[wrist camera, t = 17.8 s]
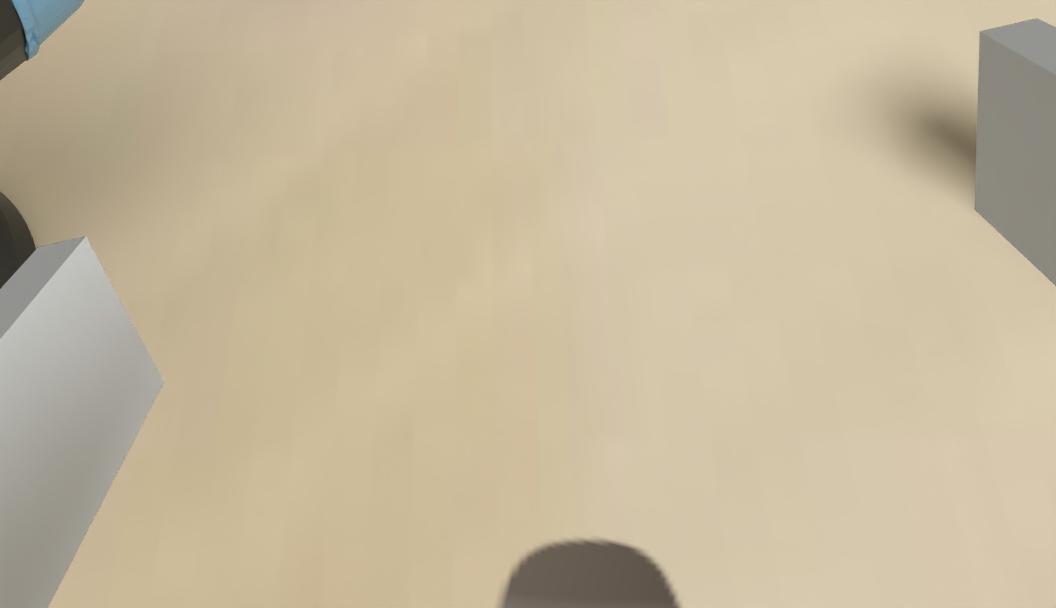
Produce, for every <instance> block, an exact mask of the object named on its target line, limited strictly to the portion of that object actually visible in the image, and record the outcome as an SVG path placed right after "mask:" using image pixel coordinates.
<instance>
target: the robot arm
mask: <svg viewBox="0 0 1056 608" xmlns="http://www.w3.org/2000/svg"><path fill="white" fill-rule="evenodd" d="M83 1H84V0H0V80H1V79H2V78H4V77H5V76H6V75H8V74H9V73H10V72H11V71H13V70H14V69H15V68H17V67H18V66H19V65H20V64H22V63H23V62H24V61H25V60H26V61H28V60H29V59H31V58H32V57H33V56H35V55H36V54H37V52H38V50H39V45H40V44H41V43H42V42H43V41H45V40H46V39H47V38H48V37H49V36H50V35H51V34H52V33H53V32H54V31H55V30H56V29H57V28H58V27H59V26H61V25H62V24H63V23H64V22H65V21H66V20H67V19H68V18H69V17H70V16H71V15H72V14H73V13H74V12H75V11H77V10H78V9H79V7H80V6H81V5H82V3H83ZM975 210H976V211H977V212H978V213H979V214H980V215H981V216H982V217H983V218H984V219H985V220H987V221H988V222H989V223H990V224H991V225H992V226H993V227H994V228H995V229H996V230H997V231H998V232H999V233H1000V234H1001V235H1002V236H1003V237H1005V238H1006V239H1007V240H1008V241H1009V242H1010V243H1011V244H1012V245H1013V246H1014V247H1015V248H1016V249H1017V250H1018V251H1019V252H1020V253H1022V254H1023V255H1024V256H1025V257H1026V258H1027V259H1028V260H1029V261H1030V262H1031V263H1032V264H1033V265H1034V266H1035V267H1036V268H1037V269H1038V270H1040V271H1041V272H1042V273H1043V274H1044V275H1045V276H1046V277H1047V278H1048V279H1049V280H1050V281H1051V282H1052V283H1053V284H1054V285H1055V286H1056V27H1054V26H1052V25H1049V24H1047V23H1045V22H1043V21H1041V20H1039V19H1037V18H1036V19H1032V20H1028V21H1023V22H1019V23H1014V24H1010V25H1006V26H1001V27H997V28H993V29H988V30H984V31H980V43H979V76H978V110H977V143H976V177H975ZM163 383H164V381H163V379H162V377H161V375H160V373H159V371H158V370H157V368H156V366H155V364H154V362H153V360H152V358H151V357H150V355H149V353H148V351H147V349H146V347H145V345H144V344H143V342H142V340H141V338H140V336H139V334H138V332H137V331H136V329H135V327H134V325H133V323H132V321H131V319H130V317H129V316H128V314H127V312H126V310H125V308H124V306H123V304H122V303H121V301H120V299H119V297H118V295H117V293H116V291H115V290H114V288H113V286H112V284H111V282H110V280H109V278H108V276H107V275H106V273H105V271H104V269H103V267H102V265H101V263H100V262H99V260H98V258H97V256H96V254H95V252H94V250H93V249H92V247H91V245H90V243H89V241H88V239H87V237H86V236H85V237H81V238H77V239H72V240H68V241H64V242H59V243H55V244H50V245H46V246H42V247H38V248H37V249H36V248H35V245H34V241H33V238H32V236H31V233H30V231H29V229H28V227H27V225H26V222H25V221H24V219H23V217H22V216H21V214H20V213H19V211H18V210H17V209H16V207H15V206H14V205H13V204H12V203H11V202H10V200H9V199H8V198H7V197H5V196H4V195H3V194H2V193H1V192H0V608H48V606H49V604H50V602H51V600H52V598H53V596H54V595H55V593H56V591H57V589H58V587H59V585H60V583H61V581H62V579H63V577H64V575H65V573H66V571H67V569H68V567H69V565H70V564H71V562H72V560H73V558H74V556H75V554H76V552H77V550H78V548H79V546H80V544H81V542H82V540H83V538H84V536H85V534H86V533H87V531H88V529H89V527H90V525H91V523H92V521H93V519H94V517H95V515H96V513H97V511H98V509H99V507H100V505H101V503H102V502H103V500H104V498H105V496H106V494H107V492H108V490H109V488H110V486H111V484H112V482H113V480H114V478H115V476H116V474H117V472H118V471H119V469H120V467H121V465H122V463H123V461H124V459H125V457H126V455H127V453H128V451H129V449H130V447H131V445H132V443H133V441H134V440H135V438H136V436H137V434H138V432H139V430H140V428H141V426H142V424H143V422H144V420H145V418H146V416H147V414H148V412H149V410H150V409H151V407H152V405H153V403H154V401H155V399H156V397H157V395H158V393H159V391H160V389H161V387H162V385H163Z"/></svg>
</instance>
